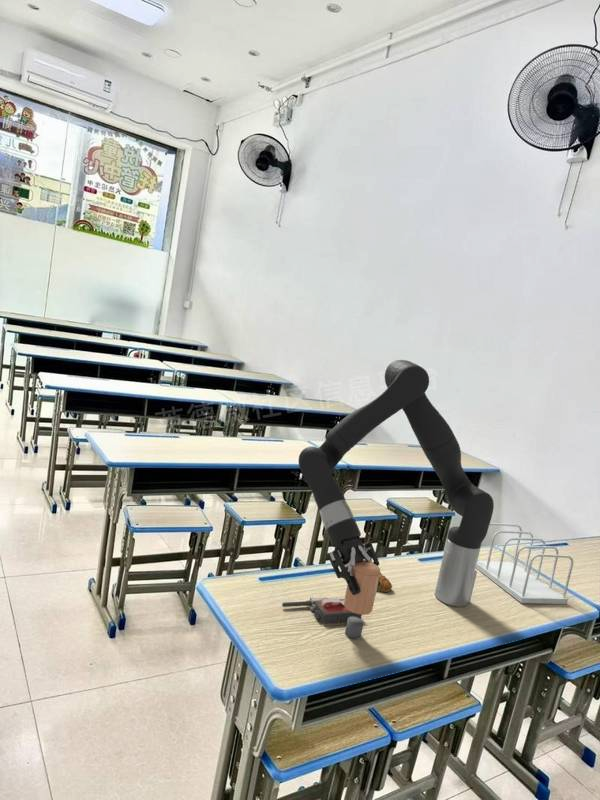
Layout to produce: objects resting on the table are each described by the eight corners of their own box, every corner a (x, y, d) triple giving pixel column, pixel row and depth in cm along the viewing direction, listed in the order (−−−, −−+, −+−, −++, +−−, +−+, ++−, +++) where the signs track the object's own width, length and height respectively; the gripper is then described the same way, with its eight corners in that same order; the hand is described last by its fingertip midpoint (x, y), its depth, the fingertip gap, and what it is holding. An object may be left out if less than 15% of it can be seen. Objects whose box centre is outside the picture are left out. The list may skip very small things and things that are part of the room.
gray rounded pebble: (355, 629, 130) (357, 615, 130) (363, 638, 127) (366, 624, 127) (341, 631, 129) (344, 617, 128) (350, 640, 125) (353, 626, 125)
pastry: (395, 589, 156) (398, 577, 155) (383, 596, 150) (386, 583, 150) (368, 576, 161) (370, 564, 161) (355, 582, 156) (358, 569, 155)
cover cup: (361, 598, 131) (369, 559, 130) (377, 613, 126) (386, 572, 124) (338, 600, 128) (346, 560, 127) (353, 615, 123) (362, 574, 121)
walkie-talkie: (349, 603, 143) (279, 607, 135) (352, 587, 143) (282, 590, 134) (366, 621, 135) (293, 627, 127) (369, 605, 135) (296, 610, 127)
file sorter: (567, 605, 165) (579, 557, 163) (521, 605, 160) (533, 555, 158) (512, 566, 189) (523, 524, 187) (470, 565, 183) (480, 521, 181)
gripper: (329, 520, 125) (358, 591, 118) (368, 513, 135) (397, 578, 128) (309, 533, 129) (336, 602, 122) (348, 525, 139) (375, 589, 132)
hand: (367, 590), depth 125 cm, fingers closed on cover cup, 7 cm apart
